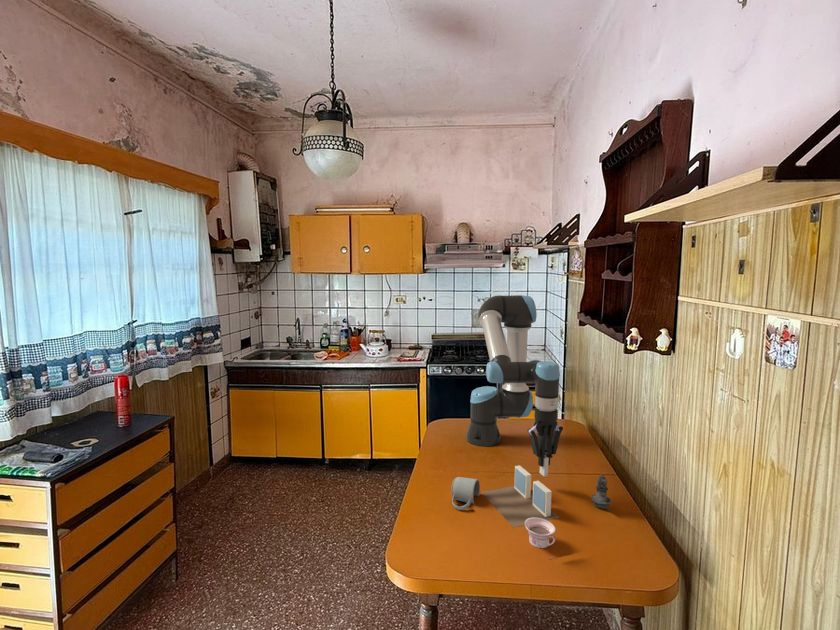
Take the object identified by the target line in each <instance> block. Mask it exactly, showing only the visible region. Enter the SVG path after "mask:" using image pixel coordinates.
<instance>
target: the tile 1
mask: <svg viewBox="0 0 840 630" xmlns="http://www.w3.org/2000/svg"><path fill="white" fill-rule="evenodd" d="M531 483H532V474H531V473H530V472H528V471H527V470H526V469H525V468H523V466H521V465H519V464H518V465H514V484H513V486H514V488H515V489H516V490H517V491H518V492H519V493H520V494H521V495H522V496H523V497H524V498H530V493H532V492H531V489H532V488H531V487H532V484H531Z"/></svg>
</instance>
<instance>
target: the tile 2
mask: <svg viewBox="0 0 840 630" xmlns="http://www.w3.org/2000/svg"><path fill="white" fill-rule="evenodd" d="M532 494H533V506H534V507H535V508H536V509H537V510H539V511H540V512H541V513H542V514H543V515H544V516H545V517H548V516H551V510H552V490H551V489H549V488H548V487H547V486H546V485H545V484H543V483H542V482H541V481H540V480H534V481H533V482H532Z"/></svg>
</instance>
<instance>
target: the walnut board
mask: <svg viewBox="0 0 840 630" xmlns="http://www.w3.org/2000/svg"><path fill="white" fill-rule="evenodd" d="M480 493H481V494H482V495H483V496H484V498H486V500H488V502H489V503H490V504H491V505H492V506H493V507H494V508H495V509H496V510H497V511H498V513H499V514H500V515H501V516H502V517H503V518H504V519H505V520H506V522H507V523H509V525H510V526H511V527H512V528H513V529H514V528H517V527H523V526H525V520H526V519H528V518H532V517H537V518H542V519H545V520H547V521H550V520H553V519H559V518H560V516H559V515H557V514H556V513H555V512H554V511H553V510H552V509H551V516H548V517H545V516H544V515H543V514H542V513H541V512H540V511H539V510H537V509H536V508H535V507H534V506H533V492H531V493H530V498H524V497H523V496H522V495H521V494H520V493H519V492H518V491H517V490H516V489H515V488H514V485H511V486H505V487H501V488H494V489H490V490H484V491H481V492H480Z"/></svg>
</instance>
